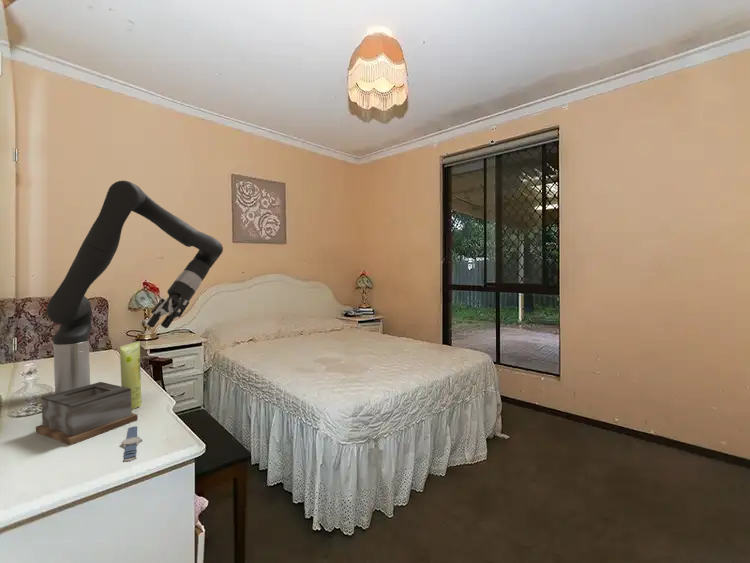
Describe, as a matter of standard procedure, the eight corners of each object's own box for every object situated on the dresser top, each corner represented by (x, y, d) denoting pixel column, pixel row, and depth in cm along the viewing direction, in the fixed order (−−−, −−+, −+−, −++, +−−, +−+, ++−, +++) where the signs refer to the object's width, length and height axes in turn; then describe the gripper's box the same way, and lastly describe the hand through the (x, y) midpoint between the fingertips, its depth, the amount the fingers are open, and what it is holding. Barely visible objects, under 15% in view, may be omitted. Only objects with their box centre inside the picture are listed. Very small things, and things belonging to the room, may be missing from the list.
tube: (141, 408, 112) (140, 344, 111) (121, 412, 109) (119, 346, 108) (141, 402, 117) (139, 340, 116) (121, 406, 114) (120, 342, 113)
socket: (35, 432, 96) (34, 397, 95) (103, 410, 110) (102, 380, 110) (70, 445, 89) (69, 408, 89) (137, 419, 104) (136, 388, 103)
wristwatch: (118, 465, 81) (118, 460, 81) (124, 430, 98) (123, 426, 98) (141, 459, 83) (141, 455, 83) (143, 426, 100) (142, 423, 100)
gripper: (165, 280, 130) (135, 319, 121) (188, 278, 122) (158, 320, 114) (182, 293, 135) (154, 331, 126) (205, 292, 127) (178, 333, 119)
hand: (156, 326), depth 120 cm, fingers open, 8 cm apart
